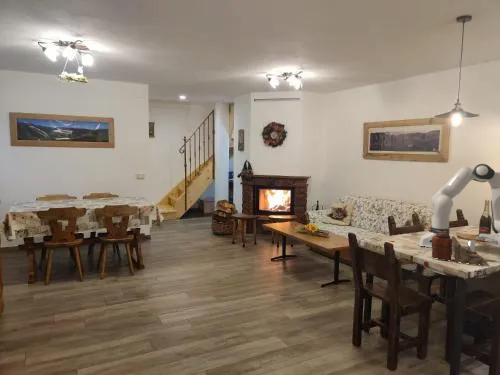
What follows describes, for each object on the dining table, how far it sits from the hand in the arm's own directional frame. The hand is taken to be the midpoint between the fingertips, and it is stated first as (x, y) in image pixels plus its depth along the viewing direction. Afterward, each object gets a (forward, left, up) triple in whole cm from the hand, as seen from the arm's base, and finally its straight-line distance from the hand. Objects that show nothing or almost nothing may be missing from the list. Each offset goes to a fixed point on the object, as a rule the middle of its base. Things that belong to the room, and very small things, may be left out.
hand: (482, 240), depth 233 cm
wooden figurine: (-25, -11, -13) cm, 30 cm away
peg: (-7, -3, -12) cm, 15 cm away
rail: (-10, -5, -12) cm, 17 cm away
